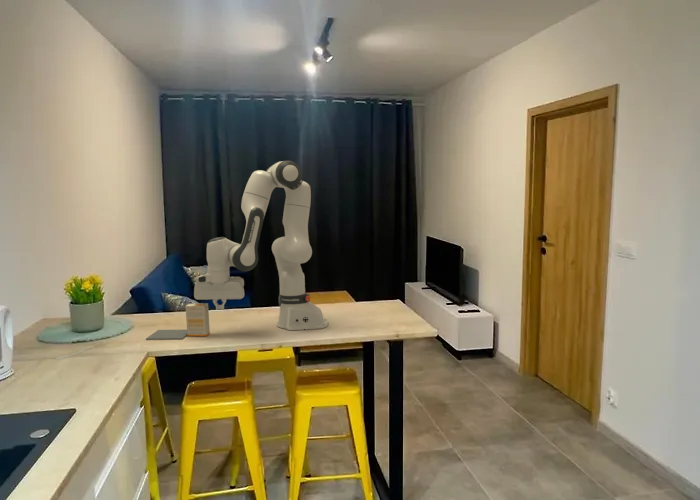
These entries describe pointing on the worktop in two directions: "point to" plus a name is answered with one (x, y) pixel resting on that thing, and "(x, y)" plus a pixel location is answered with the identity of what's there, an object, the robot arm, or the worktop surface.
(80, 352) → the butter knife
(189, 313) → the supplement box
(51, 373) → the worktop surface
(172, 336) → the rubber mat
